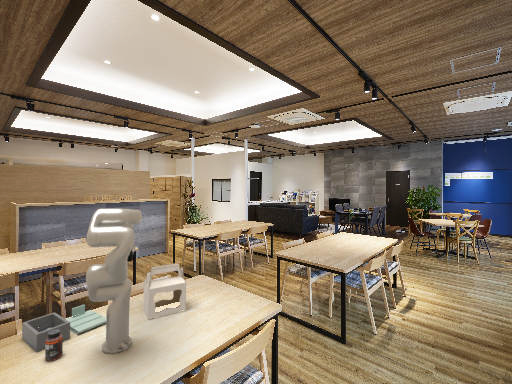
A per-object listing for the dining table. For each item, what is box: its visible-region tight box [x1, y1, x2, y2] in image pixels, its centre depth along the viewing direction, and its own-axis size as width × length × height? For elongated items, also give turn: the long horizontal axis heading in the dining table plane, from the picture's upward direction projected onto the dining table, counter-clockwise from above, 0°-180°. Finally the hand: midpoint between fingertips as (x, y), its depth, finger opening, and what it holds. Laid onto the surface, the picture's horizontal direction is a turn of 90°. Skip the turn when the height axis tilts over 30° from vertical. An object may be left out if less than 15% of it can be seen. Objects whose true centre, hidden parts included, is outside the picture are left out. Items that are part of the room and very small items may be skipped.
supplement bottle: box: [44, 329, 64, 362], centre depth 112 cm, size 6×6×11 cm
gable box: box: [142, 262, 187, 321], centre depth 156 cm, size 22×13×28 cm, turn 124°
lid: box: [65, 304, 106, 335], centre depth 140 cm, size 20×15×7 cm
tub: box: [21, 312, 71, 354], centre depth 125 cm, size 18×13×8 cm
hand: (125, 259), depth 149 cm, fingers open, 9 cm apart
